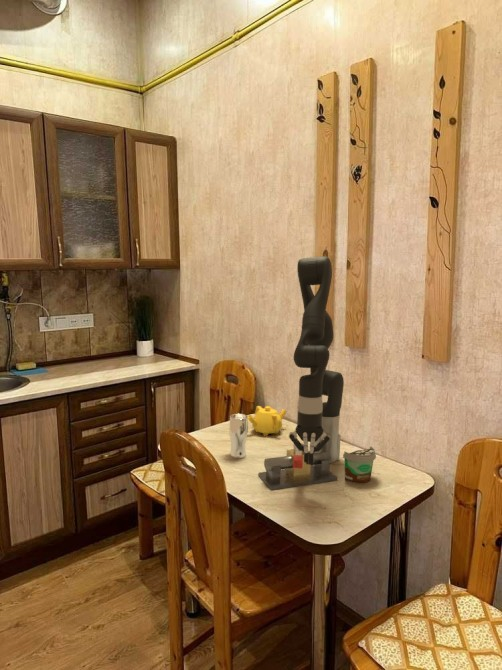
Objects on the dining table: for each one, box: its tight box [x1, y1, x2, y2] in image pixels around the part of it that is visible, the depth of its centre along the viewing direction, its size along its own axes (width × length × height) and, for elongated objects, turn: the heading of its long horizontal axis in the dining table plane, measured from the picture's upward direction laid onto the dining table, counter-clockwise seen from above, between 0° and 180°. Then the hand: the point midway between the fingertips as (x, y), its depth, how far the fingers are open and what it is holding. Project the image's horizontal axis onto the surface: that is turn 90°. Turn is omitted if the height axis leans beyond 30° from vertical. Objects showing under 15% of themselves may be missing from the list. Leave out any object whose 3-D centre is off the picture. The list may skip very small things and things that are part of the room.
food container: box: [342, 446, 377, 484], centre depth 155 cm, size 12×6×10 cm, turn 118°
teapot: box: [247, 405, 287, 437], centre depth 199 cm, size 20×18×11 cm
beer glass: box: [228, 413, 249, 459], centre depth 173 cm, size 7×7×15 cm
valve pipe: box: [257, 449, 338, 491], centre depth 156 cm, size 24×11×9 cm, turn 110°
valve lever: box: [293, 442, 304, 469], centre depth 149 cm, size 15×4×3 cm, turn 173°
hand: (308, 463), depth 144 cm, fingers closed
